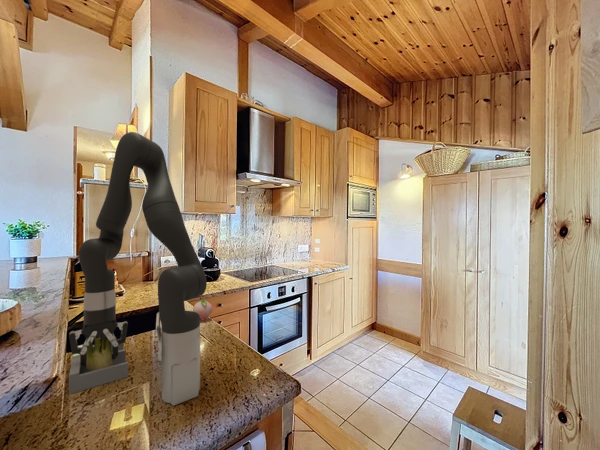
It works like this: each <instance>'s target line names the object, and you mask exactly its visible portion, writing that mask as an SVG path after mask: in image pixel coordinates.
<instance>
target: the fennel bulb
mask: <svg viewBox="0 0 600 450" xmlns="http://www.w3.org/2000/svg"><path fill="white" fill-rule="evenodd" d="M110 338H111V337H110ZM93 345H94V351H93ZM109 366H113V360H112V351H111V342H110V341H109V339H108V338H107V339H105V340H100V337H99V338H95V342H92V343H91V341H89V346H87V359H86V371H87V372H90V371H94V370H98V369H102V368H105V367H109Z"/></svg>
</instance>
